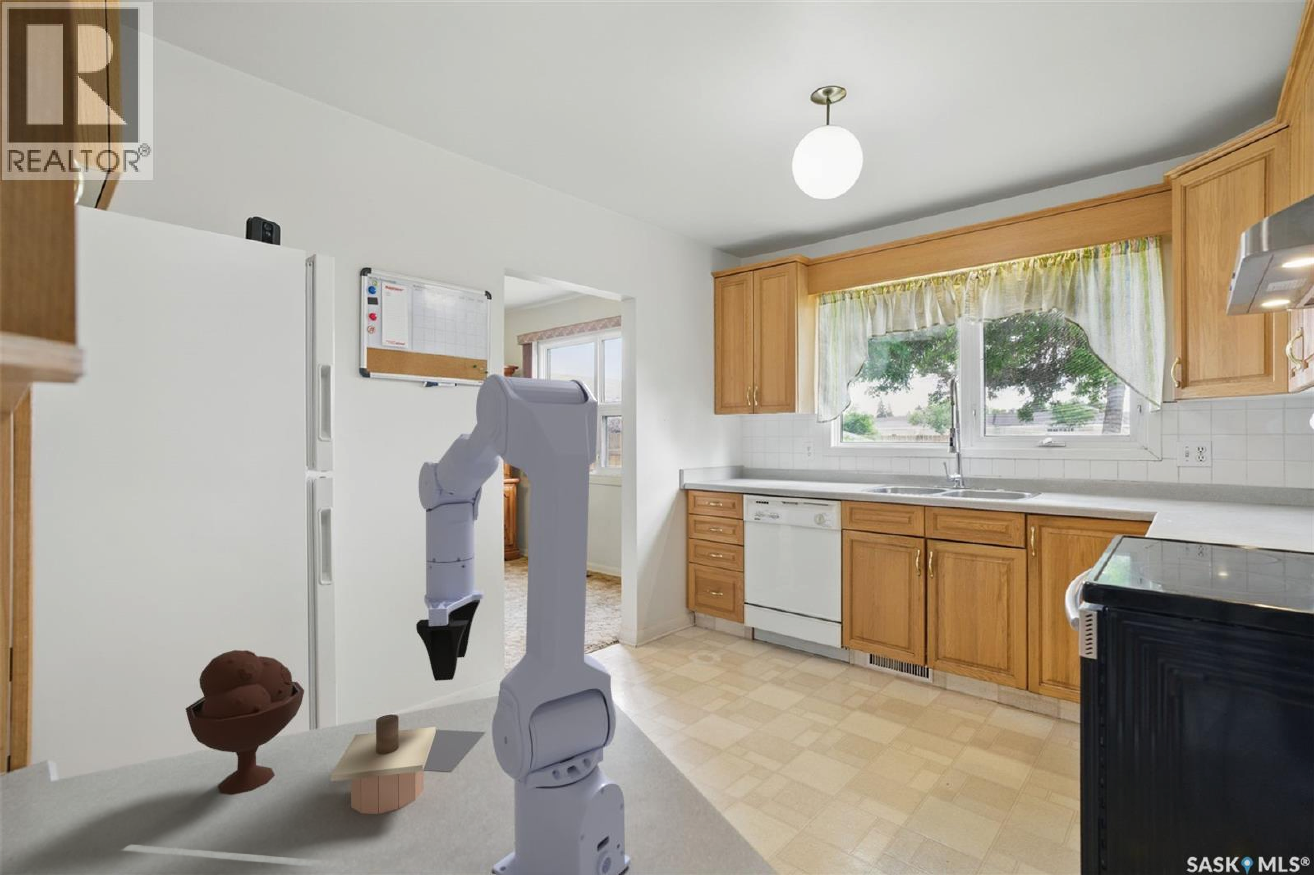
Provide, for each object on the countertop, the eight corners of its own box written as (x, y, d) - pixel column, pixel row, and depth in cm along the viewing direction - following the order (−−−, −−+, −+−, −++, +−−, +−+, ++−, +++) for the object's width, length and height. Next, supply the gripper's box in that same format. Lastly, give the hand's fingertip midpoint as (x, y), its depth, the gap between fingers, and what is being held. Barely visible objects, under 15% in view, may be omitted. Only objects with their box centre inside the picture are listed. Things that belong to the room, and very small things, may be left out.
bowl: (436, 792, 66) (436, 750, 66) (374, 825, 60) (374, 779, 60) (399, 772, 70) (399, 733, 70) (338, 802, 64) (338, 759, 64)
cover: (435, 732, 70) (435, 699, 70) (422, 771, 61) (422, 733, 61) (355, 740, 68) (355, 706, 68) (330, 781, 60) (330, 742, 60)
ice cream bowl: (248, 818, 61) (248, 669, 61) (158, 806, 63) (158, 662, 64) (325, 764, 72) (325, 637, 72) (245, 755, 74) (245, 632, 74)
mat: (485, 735, 78) (485, 732, 78) (451, 775, 69) (451, 771, 69) (415, 731, 80) (415, 728, 80) (372, 770, 70) (372, 767, 70)
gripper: (473, 568, 69) (474, 688, 69) (491, 547, 83) (491, 646, 83) (409, 571, 68) (409, 692, 68) (437, 549, 82) (438, 649, 82)
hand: (450, 667), depth 75 cm, fingers open, 7 cm apart
